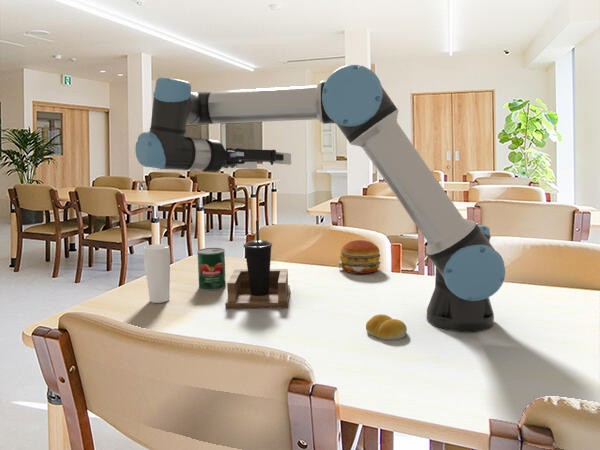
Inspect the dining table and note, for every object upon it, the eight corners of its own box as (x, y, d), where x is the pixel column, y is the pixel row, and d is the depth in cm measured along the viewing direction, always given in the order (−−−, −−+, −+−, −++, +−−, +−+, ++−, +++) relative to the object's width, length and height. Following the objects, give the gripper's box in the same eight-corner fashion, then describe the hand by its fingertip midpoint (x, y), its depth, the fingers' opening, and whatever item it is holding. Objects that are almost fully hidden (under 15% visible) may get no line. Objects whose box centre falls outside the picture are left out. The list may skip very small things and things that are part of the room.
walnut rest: (287, 308, 134) (287, 283, 133) (225, 308, 134) (224, 284, 133) (289, 290, 150) (289, 268, 149) (234, 290, 150) (233, 268, 149)
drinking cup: (261, 287, 147) (258, 217, 144) (279, 293, 142) (277, 220, 139) (239, 293, 142) (236, 221, 139) (257, 299, 137) (255, 224, 133)
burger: (379, 276, 163) (380, 245, 161) (336, 275, 166) (336, 244, 164) (380, 266, 176) (381, 237, 175) (340, 265, 179) (340, 236, 177)
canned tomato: (206, 292, 149) (204, 254, 147) (194, 286, 155) (192, 250, 153) (230, 287, 153) (229, 250, 152) (218, 281, 160) (216, 246, 158)
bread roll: (391, 344, 111) (391, 326, 110) (359, 333, 117) (359, 316, 117) (415, 334, 116) (415, 317, 115) (383, 324, 123) (384, 307, 122)
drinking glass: (177, 300, 142) (174, 246, 139) (155, 306, 137) (152, 250, 134) (163, 295, 146) (160, 243, 144) (141, 301, 142) (138, 246, 139)
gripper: (175, 175, 131) (243, 179, 145) (235, 166, 113) (306, 172, 127) (175, 145, 131) (243, 152, 145) (234, 131, 113) (305, 141, 127)
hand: (272, 161), depth 136 cm, fingers open, 13 cm apart
